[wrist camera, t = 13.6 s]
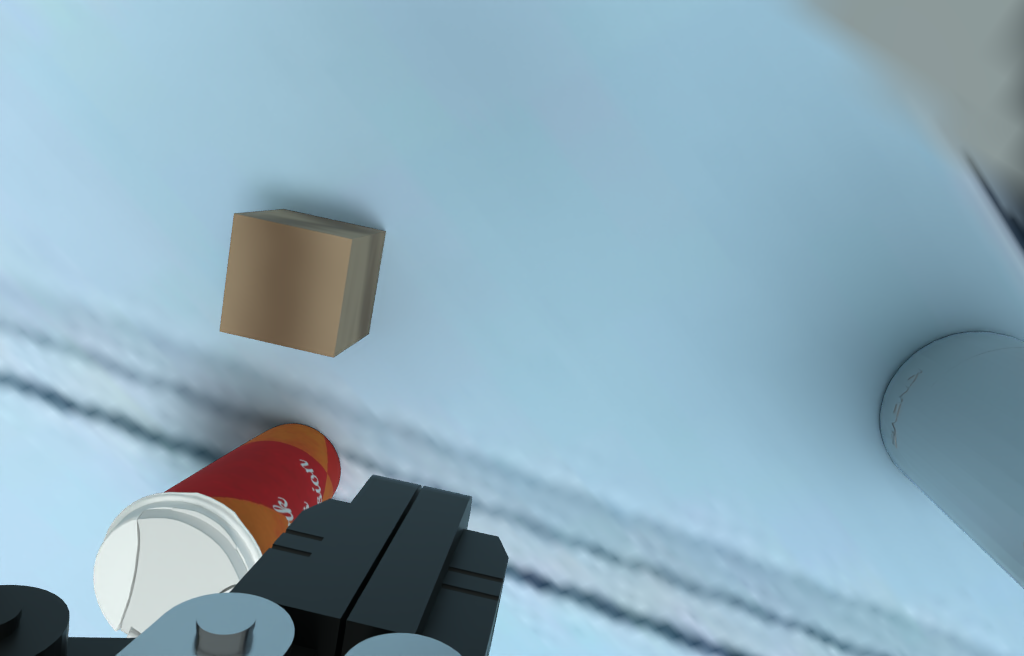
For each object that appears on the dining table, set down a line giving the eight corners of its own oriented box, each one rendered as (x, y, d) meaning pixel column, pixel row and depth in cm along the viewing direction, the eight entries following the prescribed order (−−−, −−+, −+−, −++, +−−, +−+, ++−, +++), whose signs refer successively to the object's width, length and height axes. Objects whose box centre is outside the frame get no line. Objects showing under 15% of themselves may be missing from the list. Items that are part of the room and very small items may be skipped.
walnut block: (386, 231, 42) (352, 239, 36) (369, 333, 43) (333, 357, 37) (284, 209, 42) (233, 213, 37) (270, 311, 44) (219, 331, 38)
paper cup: (321, 549, 46) (205, 703, 33) (215, 483, 46) (54, 610, 32) (382, 448, 44) (287, 566, 31) (271, 379, 44) (127, 468, 31)
